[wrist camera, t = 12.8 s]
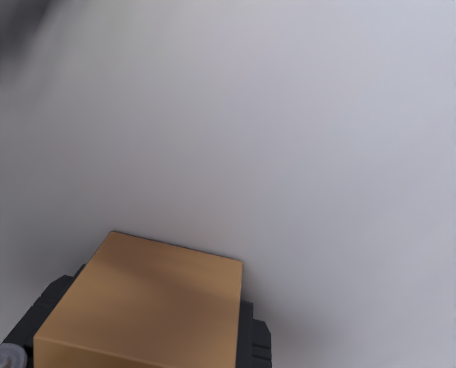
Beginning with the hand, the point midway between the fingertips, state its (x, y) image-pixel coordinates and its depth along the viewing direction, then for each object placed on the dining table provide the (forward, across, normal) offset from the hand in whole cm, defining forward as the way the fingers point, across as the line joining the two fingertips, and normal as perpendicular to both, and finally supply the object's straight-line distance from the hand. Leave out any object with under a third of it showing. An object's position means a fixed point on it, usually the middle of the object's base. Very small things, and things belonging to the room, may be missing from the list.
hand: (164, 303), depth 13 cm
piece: (0, 0, 0) cm, 0 cm away
